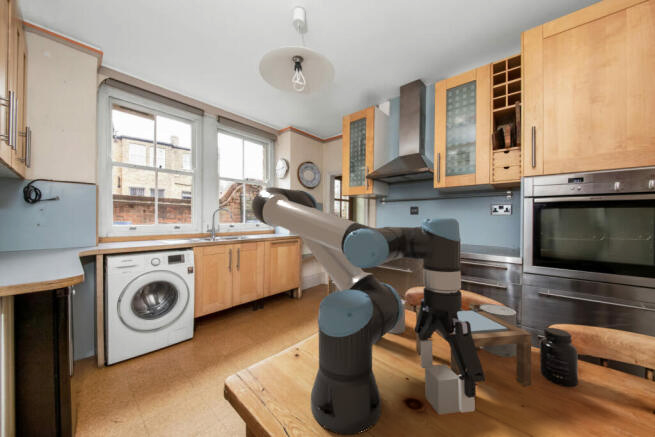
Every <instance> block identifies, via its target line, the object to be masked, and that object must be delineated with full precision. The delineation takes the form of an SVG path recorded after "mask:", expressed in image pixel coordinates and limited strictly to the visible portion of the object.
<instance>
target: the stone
mask: <svg viewBox="0 0 655 437" xmlns="http://www.w3.org/2000/svg"><path fill="white" fill-rule="evenodd" d="M424 377H425V378H424V390H425V392H424V393H425V394H424V397H425V398H426V400H427V401H428V402H429V404H430V405H431V406H432V408H433V409H434V411H436V413H437V415H445V414H453V413H460V412H461V411H460V410H459V389H458V376H457V375H456V374H455V373H454V372H453V371H452V370H451V367H449V366H448V365H447V364H446V363H444V364H443V363H441V364H433V365H431V366H425V368H424Z"/></svg>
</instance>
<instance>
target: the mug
mask: <svg viewBox="0 0 655 437" xmlns="http://www.w3.org/2000/svg"><path fill="white" fill-rule="evenodd" d="M401 301H402V316H401V318H400V320H399V321H398V323H397V324H396V326H395V327H394V328H393V329H392V330H390V331H388V332H387V333H389V334H396V335H397V334H402V333H404V332H405V331H406V301H404V300H403V299H401Z"/></svg>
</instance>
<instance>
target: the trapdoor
mask: <svg viewBox="0 0 655 437" xmlns="http://www.w3.org/2000/svg"><path fill="white" fill-rule="evenodd" d="M421 301H424V298H421ZM421 301H420V302H421ZM457 315H458V319H459V320H460V321H462V322H463V321H468V322H469V323H470V326H471V334H482V333H494V332H507V328H506V327H504V326H502V325H500V324H498V323H496V322H494V321H492V320H490V319H488V318H486V317H484V316H482V315H480V314H478V313H476V312H474V311H469V310H464V309H462V308H461V309H460V310H459V311H458V312H457ZM454 333H455V331H454ZM455 334H456V333H455Z"/></svg>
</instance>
